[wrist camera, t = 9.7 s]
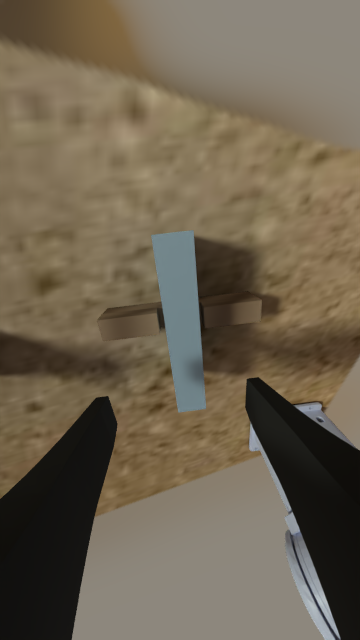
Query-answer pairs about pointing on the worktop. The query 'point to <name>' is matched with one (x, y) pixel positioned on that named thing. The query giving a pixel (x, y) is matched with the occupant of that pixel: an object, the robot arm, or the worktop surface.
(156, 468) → the worktop surface
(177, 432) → the worktop surface
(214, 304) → the walnut slotted board
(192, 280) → the slate-blue slotted board
